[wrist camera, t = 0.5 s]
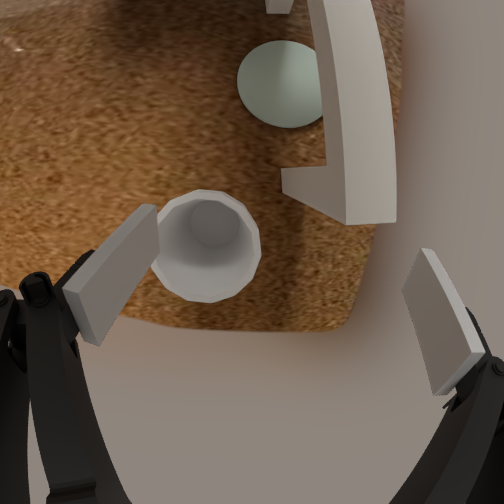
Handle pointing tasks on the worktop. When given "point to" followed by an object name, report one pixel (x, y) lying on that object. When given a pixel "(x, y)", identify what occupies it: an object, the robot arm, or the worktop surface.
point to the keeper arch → (331, 108)
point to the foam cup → (206, 246)
